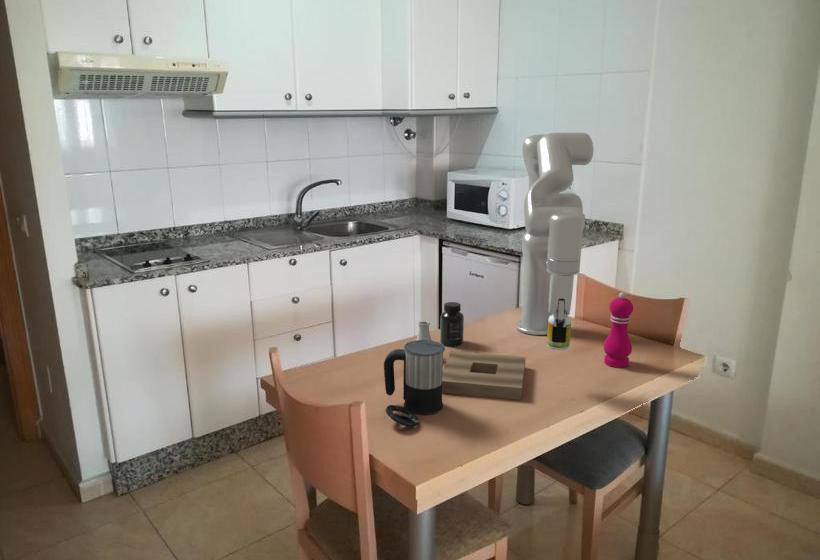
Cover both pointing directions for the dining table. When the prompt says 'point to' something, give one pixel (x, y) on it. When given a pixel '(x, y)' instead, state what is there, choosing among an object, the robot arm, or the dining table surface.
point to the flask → (423, 331)
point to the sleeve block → (484, 375)
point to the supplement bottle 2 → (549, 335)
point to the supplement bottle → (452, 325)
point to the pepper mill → (619, 333)
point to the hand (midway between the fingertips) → (558, 336)
